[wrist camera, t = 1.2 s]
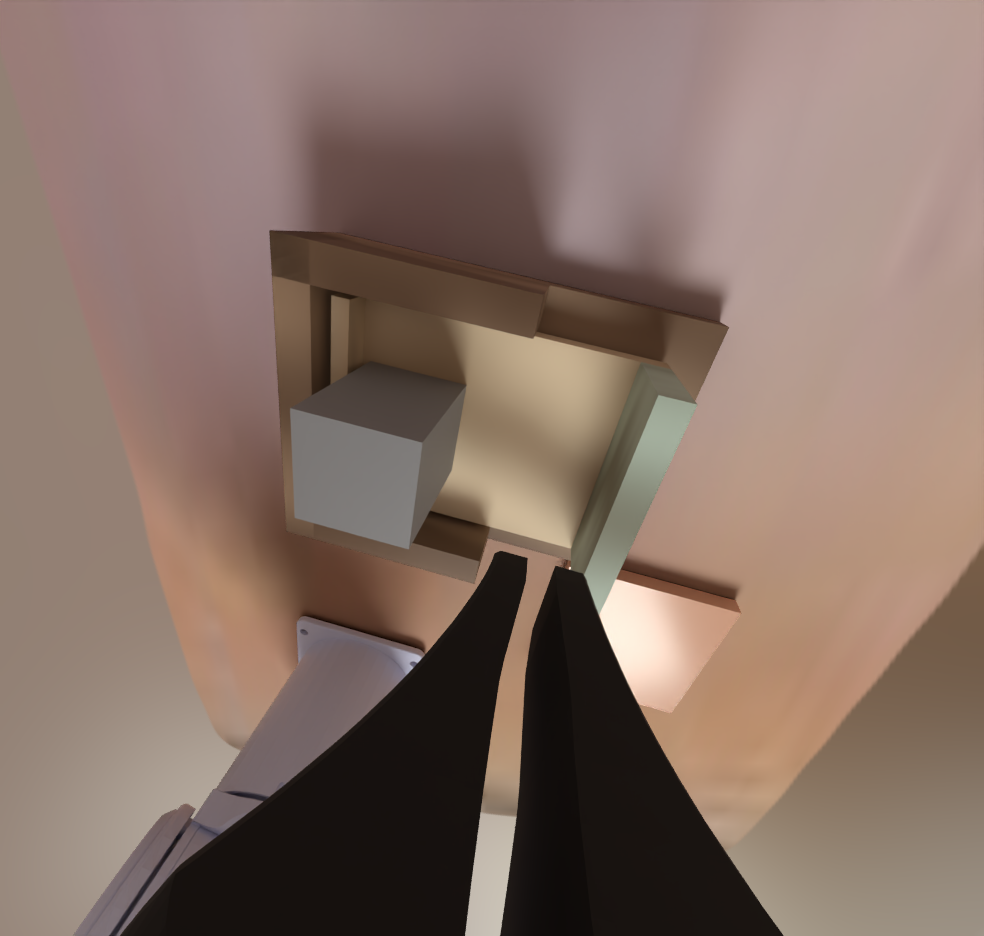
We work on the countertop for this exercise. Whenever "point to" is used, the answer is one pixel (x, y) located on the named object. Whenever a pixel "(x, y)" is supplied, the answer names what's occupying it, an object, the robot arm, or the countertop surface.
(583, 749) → the robot arm
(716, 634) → the terracotta tile
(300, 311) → the brown tray
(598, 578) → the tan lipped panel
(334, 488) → the grey block
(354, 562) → the countertop surface
